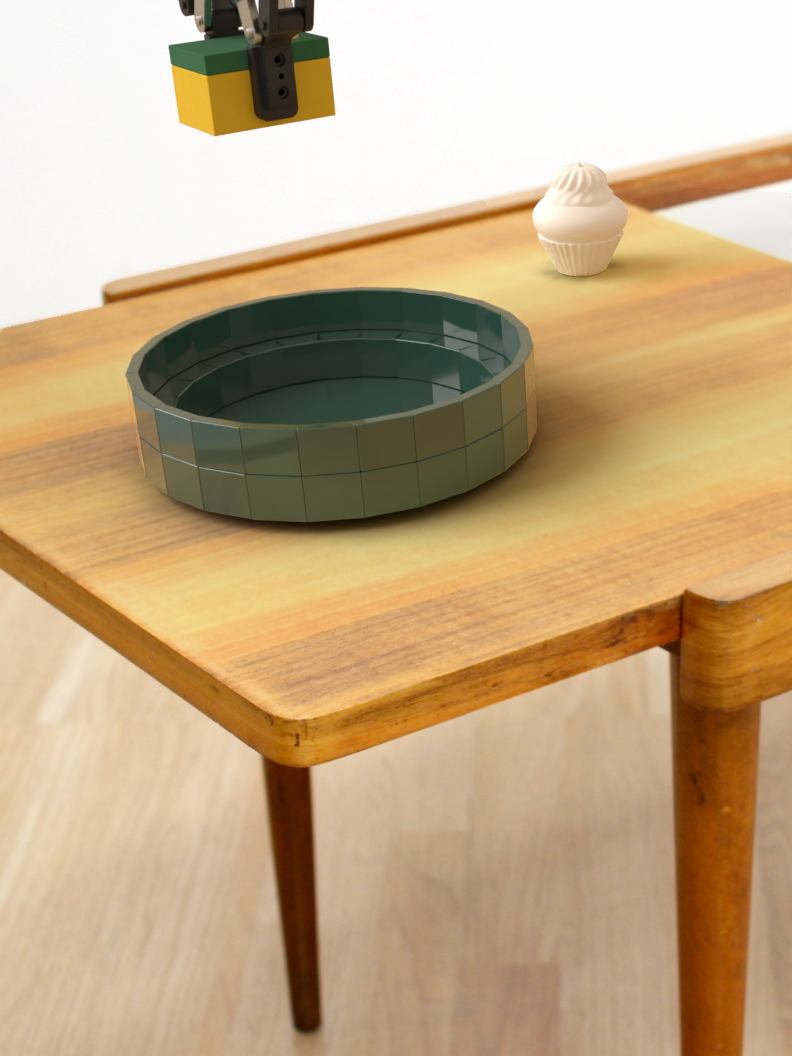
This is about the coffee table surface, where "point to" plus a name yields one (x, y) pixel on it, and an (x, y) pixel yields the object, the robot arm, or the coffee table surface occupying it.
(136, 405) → the bowl
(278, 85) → the robot arm
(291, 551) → the coffee table surface
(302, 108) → the sponge
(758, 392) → the coffee table surface
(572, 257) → the muffin
